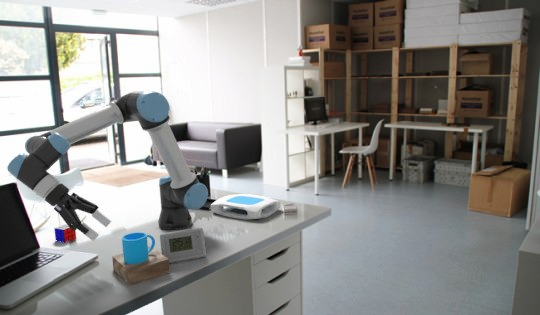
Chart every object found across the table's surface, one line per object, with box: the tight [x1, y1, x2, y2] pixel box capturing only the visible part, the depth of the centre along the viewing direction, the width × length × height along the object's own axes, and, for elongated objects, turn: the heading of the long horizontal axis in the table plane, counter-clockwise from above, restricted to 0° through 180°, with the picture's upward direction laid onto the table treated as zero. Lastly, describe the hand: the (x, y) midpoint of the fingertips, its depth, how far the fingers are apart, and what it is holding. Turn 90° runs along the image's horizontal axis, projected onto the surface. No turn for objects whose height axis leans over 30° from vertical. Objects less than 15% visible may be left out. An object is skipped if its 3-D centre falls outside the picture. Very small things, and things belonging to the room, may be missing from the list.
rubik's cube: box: [54, 223, 77, 244], centre depth 187 cm, size 6×6×6 cm
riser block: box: [111, 246, 171, 286], centre depth 153 cm, size 16×14×5 cm
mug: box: [121, 231, 156, 264], centre depth 153 cm, size 12×8×8 cm
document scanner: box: [210, 193, 281, 221], centre depth 220 cm, size 21×28×6 cm
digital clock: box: [159, 227, 207, 264], centre depth 163 cm, size 16×9×11 cm, turn 100°
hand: (103, 230), depth 151 cm, fingers open, 13 cm apart
